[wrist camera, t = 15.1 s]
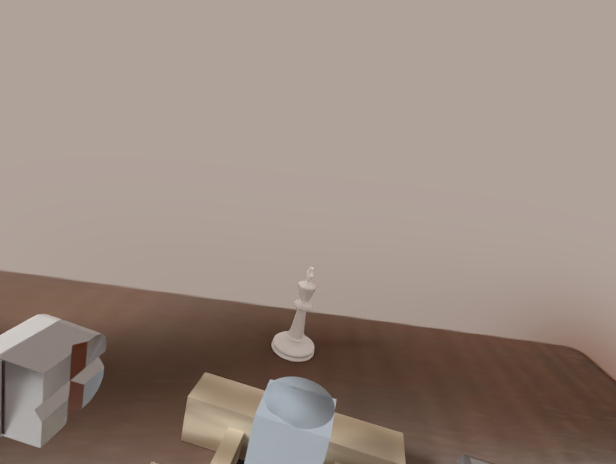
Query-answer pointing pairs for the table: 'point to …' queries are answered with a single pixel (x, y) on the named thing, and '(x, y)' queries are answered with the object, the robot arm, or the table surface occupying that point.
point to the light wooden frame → (240, 415)
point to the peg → (291, 423)
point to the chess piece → (297, 327)
